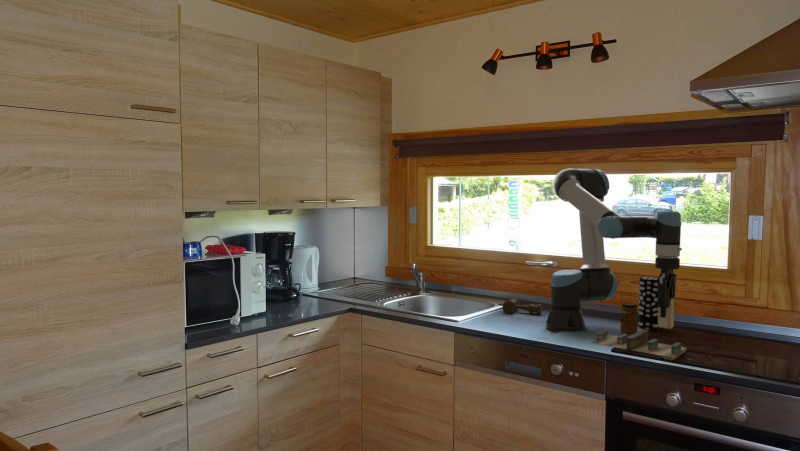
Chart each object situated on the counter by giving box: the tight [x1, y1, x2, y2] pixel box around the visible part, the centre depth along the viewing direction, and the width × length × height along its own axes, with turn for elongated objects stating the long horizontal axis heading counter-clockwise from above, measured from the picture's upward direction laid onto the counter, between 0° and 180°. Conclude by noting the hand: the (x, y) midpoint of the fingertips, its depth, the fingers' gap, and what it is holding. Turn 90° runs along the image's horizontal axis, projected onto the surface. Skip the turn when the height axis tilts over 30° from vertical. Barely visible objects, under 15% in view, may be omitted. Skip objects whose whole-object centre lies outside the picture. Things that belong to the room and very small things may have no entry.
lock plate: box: [589, 328, 688, 361], centre depth 204 cm, size 28×16×5 cm, turn 49°
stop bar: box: [658, 297, 675, 329], centre depth 197 cm, size 4×4×10 cm
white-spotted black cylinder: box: [637, 276, 661, 331], centre depth 234 cm, size 8×8×20 cm
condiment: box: [620, 302, 639, 335], centre depth 221 cm, size 7×8×12 cm
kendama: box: [497, 298, 543, 316], centre depth 262 cm, size 6×10×20 cm
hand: (665, 325), depth 197 cm, fingers closed on stop bar, 4 cm apart
